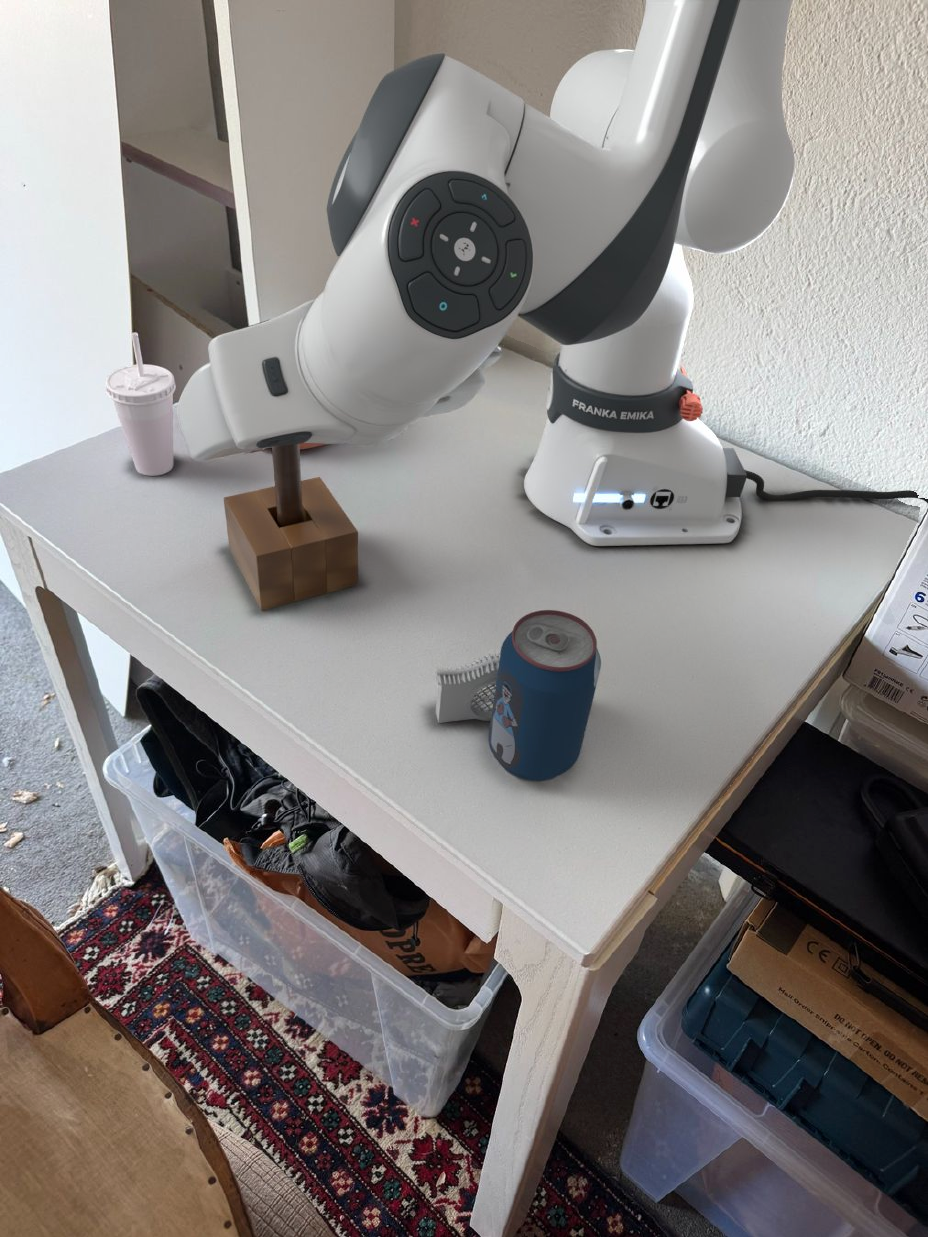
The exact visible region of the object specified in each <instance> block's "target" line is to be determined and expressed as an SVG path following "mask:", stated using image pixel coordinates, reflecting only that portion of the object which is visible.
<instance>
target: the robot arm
mask: <svg viewBox="0 0 928 1237" xmlns="http://www.w3.org/2000/svg"><path fill="white" fill-rule="evenodd" d="M792 5H793V0H645V7H644V8H645V9H644V15H643V19H642V24H641V27H640V31H639V35H638V38H637V41H636V45H635V47H634V48H635V49H603V50H596V51H594V52H591V53H589V54H586V55H585V56H583V57H582V58H580V59H579V60H577V61H576V62H575V63H574V64H573V65H572V66H571V67H570V68H569V69H568V70H567V72H566V73H565V74H564V75H563V77H562V78H561V81H560V82H559V84H558V86H557V88H556V90H555V91H554V95H553V98H552V102H551V105H550V106H551V107H550V112H549V116H548V115H547V114H545V113H543V112H541V111H540V110H538V109H537V108H535V107H533V105H530V104H529V103H526V102H525V101H524V99H523V98H522V97H520V96H518V95H517V94H515V93H514V92H512V91H510V90H509V89H507V88H506V87H504V86H502V85H501V84H499V83H497V82H496V81H494V80H492V79H491V78H490V77H488V76H486V75H484V74H482V73H481V72H479V71H477V70H476V69H473V68H472V67H470V66H469V65H467V64H465V63H463V62H461V61H459V60H457V59H454V58H452V57H450V56H448V55H446V54H445V53H444V52H443V53H442V52H441V53H434V54H427V55H425V56H421V57H418V58H417V59H414V60H411V61H409V62H407V63H405V64H403V65H401V66H399V67H397V68H395V69H393V70H392V71H390V72H388V73H386V74H385V75H384V76H383V77H382V79H381V80H380V81H379V83H378V86H377V87H376V88H375V91H374V92H373V94H372V97H371V99H370V100H369V103H368V104H367V107H366V109H365V112H364V113H363V116H362V119H361V122H360V124H359V127H358V128H357V129H356V130H357V131H355V133H354V135H353V137H352V139H351V140H350V143H349V144H348V146H347V148H346V150H345V152H344V154H343V156H342V159H341V161H340V163H339V165H338V167H337V169H336V173H335V175H334V178H333V181H332V184H331V187H330V190H329V195H328V198H327V204H326V215H327V223H328V228H329V234H330V239H331V243H332V247H333V249H334V252H335V254H336V256H337V257H339V258H338V259H337V261H336V262H335V264H334V266H333V268H332V270H331V272H330V274H329V277H328V278H327V281H326V283H325V287H324V290H323V291H322V292H321V293H320V294H319V295H318V296H317V297H316V298H314V299H311V300H308V301H306V302H304V303H302V304H299V305H298V306H297V307H295V308H292V309H290V310H289V311H287V312H284V313H282V314H280V315H278V316H275V317H273V318H270V319H267V320H263V321H261V322H258V323H254V324H251V325H248V326H244V327H241V328H238V329H235V330H232V331H229V332H225V333H221V334H219V335H217V336H215V337H213V338H212V339H211V340H210V342H209V343H208V346H207V349H208V357H209V362H208V363H206V364H204V365H202V366H201V367H199V368H198V369H197V370H196V371H195V372H193V374H192V376H191V377H190V378H189V380H188V381H187V383H186V385H185V386H184V387H183V388H184V389H183V390H182V392H181V395H180V397H179V399H178V403H177V409H176V414H177V419H178V424H179V427H180V430H181V434H182V435H181V436H182V438H183V441H184V444H185V447H186V450H187V453H188V455H189V457H190V458H191V459H192V460H193V461H197V462H205V461H210V460H214V459H215V460H216V459H219V458H224V457H225V458H226V457H229V456H234V455H240V454H242V455H248V454H253V453H258V452H261V451H262V452H263V451H264V449H269V448H271V447H275V446H281V445H290V444H301V443H324V444H326V445H337V444H338V445H339V444H347V445H351V446H358V447H368V446H375V445H380V444H383V443H386V442H389V441H391V440H393V439H395V438H397V437H398V436H400V435H401V434H402V433H404V432H405V431H406V430H407V429H408V428H410V427H411V426H412V425H413V424H414V423H415V422H417V421H418V420H419V419H421V418H426V417H432V416H436V415H437V416H438V415H441V414H447V413H451V412H453V411H454V412H455V411H457V410H459V409H461V408H463V407H465V406H466V405H468V404H469V403H470V402H471V401H473V399H475V397H476V396H477V395H478V394H479V393H480V392H481V390H482V389H483V388H484V386H485V383H486V378H485V374H484V370H486V369H488V368H489V367H491V366H493V365H494V364H495V363H496V362H498V361H499V360H500V359H501V358H502V348H501V347H500V345H499V344H500V343H501V341H502V340H503V338H504V337H505V335H506V334H507V333H508V331H509V330H510V329H511V327H512V325H513V324H514V322H515V320H516V319H517V317H519V319H522V320H523V321H525V322H527V323H528V324H530V325H531V326H532V327H534V328H536V329H537V330H539V331H541V332H542V333H543V334H545V335H547V336H548V337H550V338H551V339H553V340H554V341H556V342H557V343H559V344H560V351H559V352H558V353H557V355H556V356H555V358H554V361H553V366H552V370H551V372H550V377H549V383H548V388H547V389H548V390H547V396H546V397H547V399H546V406H545V407H546V408H545V409H546V415H547V418H546V422H545V426H544V429H543V432H542V436H541V439H540V442H539V444H538V448H537V450H536V453H535V455H534V458H533V460H532V462H531V465H530V466H529V468H528V470H527V472H526V474H525V476H524V479H523V488H524V489H523V490H524V492H525V495H526V496H527V499H528V500H529V501H530V503H531V504H532V505H533V506H534V507H535V508H536V509H537V510H539V512H541V513H542V514H543V515H545V516H547V517H548V518H550V519H552V520H554V521H555V522H557V523H560V524H561V525H564V526H565V527H567V528H569V529H570V530H571V531H573V533H574V534H576V535H577V536H578V537H579V538H580V539H581V540H582V541H583V542H585V543H586V544H588V545H591V546H595V547H616V546H623V547H624V546H660V545H661V546H662V545H663V546H666V545H667V546H668V545H708V544H709V545H711V544H715V545H716V544H729V543H731V542H732V541H733V540H734V539H735V538H736V537H737V535H738V533H739V531H740V528H741V522H742V514H743V513H742V512H743V511H742V503H741V499H740V498H741V496H742V493H743V490H744V486H745V484H746V481H747V479H748V480H751V481H752V482H754V483H755V484H756V486H755V495H756V496H757V497H759V498H760V499H761V500H764V501H767V502H791V501H800V500H806V499H812V498H834V499H835V498H837V499H839V498H840V499H867V500H868V499H869V500H898V499H917V500H922V501H924V502H925V503H926V504H928V499H925V498H918V496H919V495H917V493H916V492H914V491H915V490H914V491H911V490H893V491H876V490H875V491H874V490H873V491H872V490H854V489H853V490H852V489H851V490H849V489H809V490H803V491H797V492H796V491H795V492H792V493H787V494H773V493H772V494H771V493H768V492H766V491H764V490H765V480H764V479H763V477H761V476H760V475H759V474H758V473H755V472H753V471H750V470H746V469H745V468H744V466H743V464H742V462H741V460H740V459H739V458H740V457H738V454H737V453H736V450H735V449H734V448H733V447H723V446H722V444H721V442H720V440H719V438H718V437H717V435H716V434H715V433H714V432H713V430H711V429H710V427H708V426H707V425H706V424H705V423H703V421H702V420H700V418H701V417H702V414H704V413H703V412H704V411H703V410H704V409H703V405H702V402H701V398H700V396H699V395H697V394H696V393H694V384H693V381H692V380H691V379H690V378H689V377H688V375H687V371H686V370H685V368H684V366H683V365H680V369H678V366H679V363H680V360H681V359H680V358H681V356H682V355H681V354H682V352H683V347H684V343H685V339H686V336H687V331H688V327H689V323H690V319H691V314H692V311H693V307H694V289H693V283H692V279H691V277H690V274H689V272H688V269H687V266H686V263H685V259H684V253H683V248H682V247H685V248H688V249H691V250H695V251H700V252H704V253H707V254H711V255H712V254H713V255H725V254H731V253H734V252H737V251H739V250H741V249H744V248H746V247H747V246H749V245H750V244H752V243H754V242H755V241H757V239H758V238H760V237H761V236H762V235H763V234H764V233H765V232H766V231H767V230H768V229H769V228H770V227H771V226H772V224H773V223H774V222H775V221H776V219H777V218H778V216H779V215H780V213H781V211H782V210H783V208H784V206H785V204H786V202H787V200H788V198H789V194H790V192H791V188H792V185H793V180H794V176H795V166H796V165H795V160H796V159H795V151H794V147H793V143H792V141H791V138H790V135H789V132H788V129H787V125H786V120H785V115H784V108H783V106H784V105H783V72H784V71H783V70H784V55H785V46H786V38H787V30H788V25H789V20H790V19H789V18H790V13H791V8H792Z"/></svg>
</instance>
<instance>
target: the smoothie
mask: <svg viewBox="0 0 928 1237" xmlns="http://www.w3.org/2000/svg"><path fill="white" fill-rule="evenodd" d="M131 340H132V345H133V351H134V356H135V362H136V363H135V364H131V365H126V366H123V367H119V368H117V369H116V370H113V371H112V372H110V373H109V374H108V375H107V376H106V378H105V379H104V380H105V381H104V383H105V384H104V385H105V392H106V395H107V396H108V397H109V398H110V399H111V400H112V403H113V406H114V409H115V412H116V415H117V418H118V420H119V423H120V426H121V429H122V432H123V434H124V438H125V441H126V444H127V446H128V449H129V453H130V455H131V459H132V462H133V464H134V467H135V470H136V471H137V472H138V473H139V474H140V475H144V476H150V477H156V476H162V475H165V474H167V473H169V472H170V471H171V470H172V469H173V468H174V395H173V394H175V391H176V389H177V386H176V382H175V376H174V374H173V373H172V372H171V371H170V370H168V369H167V368H165V367H162V366H159V365H154V364H145V363H144V362H143V356H142V352H141V345H140V338H139V334H138V332H131Z"/></svg>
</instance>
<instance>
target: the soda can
mask: <svg viewBox="0 0 928 1237" xmlns="http://www.w3.org/2000/svg"><path fill="white" fill-rule="evenodd" d="M597 641H598V640H597V637H596V635H595V632H594V631H593V629H592V628H591V627H590V625H589V624H588V623H587V622H585V621H584V620H583V619H582V618H580V617H578V616H576V615H575V614H571V613H569V612H566V611H561V610H556V609H554V610H553V609H542V610H535V611H533V612H530V613H527V614H525V615H523V616H522V617H521V618H519V619H518V620H517V622H516V623H515V624H514V626H513V628H512V631H510V632H509V633H508V634H507V635H506V636H505V639H504V640H503V642H502V645H501V647H500V653H499V654H500V660H499V667H498V674H497V681H496V685H495V686H496V688H495V689H494V691H495V695H493V696H494V699H493V701H494V702H493V709H492V716H491V721H489V728H488V729H489V731H488V745H489V749H490V751H491V754H492V756H493V757H494V758H495V760H496V761H497V762H498V763H499V766H501V767H502V768H503V769H504V770H505V771H506V772H507V773H508V774H510V775H511V776H513V777H515V778H517V779H519V780H522V781H526V782H533V783H542V782H546V781H551V780H553V779H555V778H557V777H559V776H562V775H563V774H565V773H566V772H568V771H569V770H570V769H571V768H573V767H574V765H575V764H576V763H577V761H578V759H579V758H580V754H581V751H582V747H583V742H584V738H585V734H586V731H587V726H588V722H589V718H590V713H591V710H592V706H593V703H594V702H593V701H594V698H595V693H596V689H597V685H598V682H599V677H600V673H601V669H602V657H601V655H600V652H599V649H598V642H597Z"/></svg>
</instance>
